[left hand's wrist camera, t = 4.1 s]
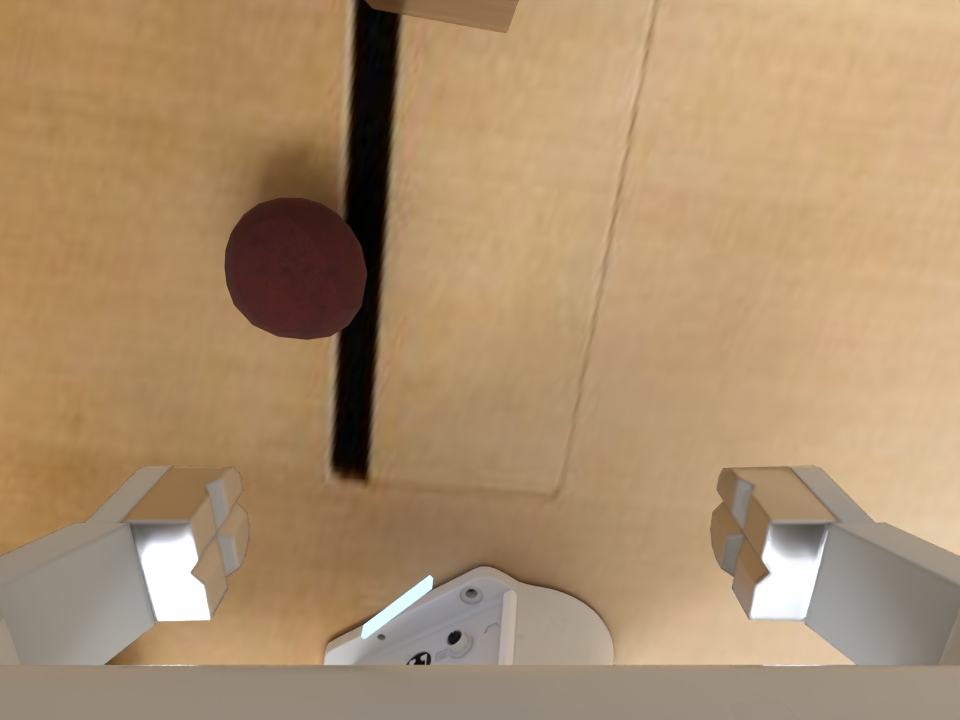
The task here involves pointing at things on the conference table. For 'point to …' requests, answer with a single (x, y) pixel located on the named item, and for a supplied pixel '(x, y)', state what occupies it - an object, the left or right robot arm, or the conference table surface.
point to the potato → (295, 269)
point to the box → (455, 11)
